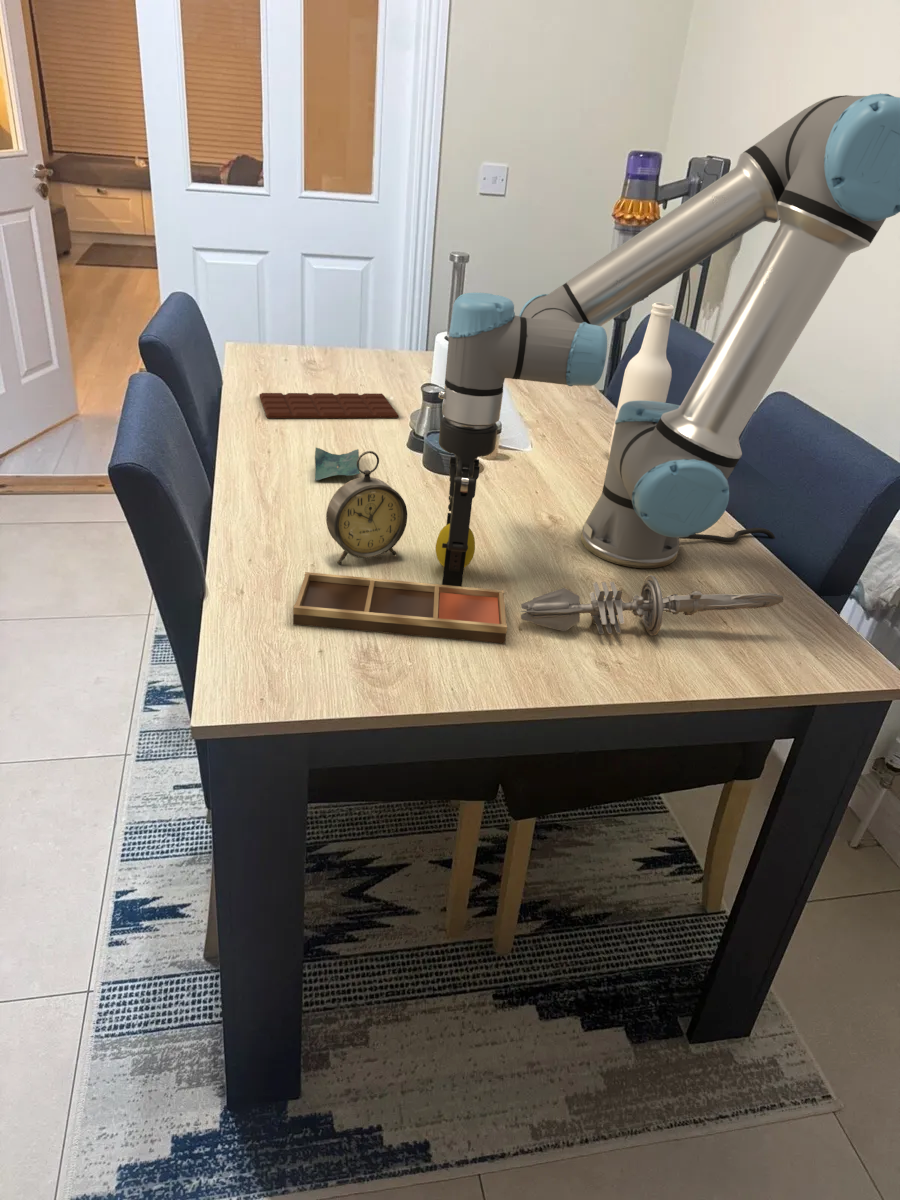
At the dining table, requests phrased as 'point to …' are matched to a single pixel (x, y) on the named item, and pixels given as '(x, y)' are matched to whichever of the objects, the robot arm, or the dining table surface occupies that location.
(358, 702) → the dining table surface
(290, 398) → the chocolate bar
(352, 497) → the alarm clock
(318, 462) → the terrain model
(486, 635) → the wooden compartment tray
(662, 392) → the alcohol
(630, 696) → the dining table surface
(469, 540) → the lemon
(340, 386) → the dining table surface
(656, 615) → the spaceship
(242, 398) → the dining table surface
